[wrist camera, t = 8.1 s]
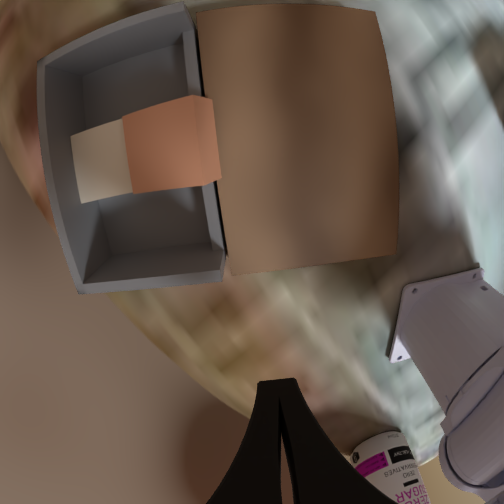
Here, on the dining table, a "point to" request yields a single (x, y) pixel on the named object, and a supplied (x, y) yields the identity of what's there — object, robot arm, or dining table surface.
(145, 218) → the box
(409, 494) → the supplement can
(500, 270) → the dining table surface
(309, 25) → the walnut plate
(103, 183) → the tile cream
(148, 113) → the tile terracotta
